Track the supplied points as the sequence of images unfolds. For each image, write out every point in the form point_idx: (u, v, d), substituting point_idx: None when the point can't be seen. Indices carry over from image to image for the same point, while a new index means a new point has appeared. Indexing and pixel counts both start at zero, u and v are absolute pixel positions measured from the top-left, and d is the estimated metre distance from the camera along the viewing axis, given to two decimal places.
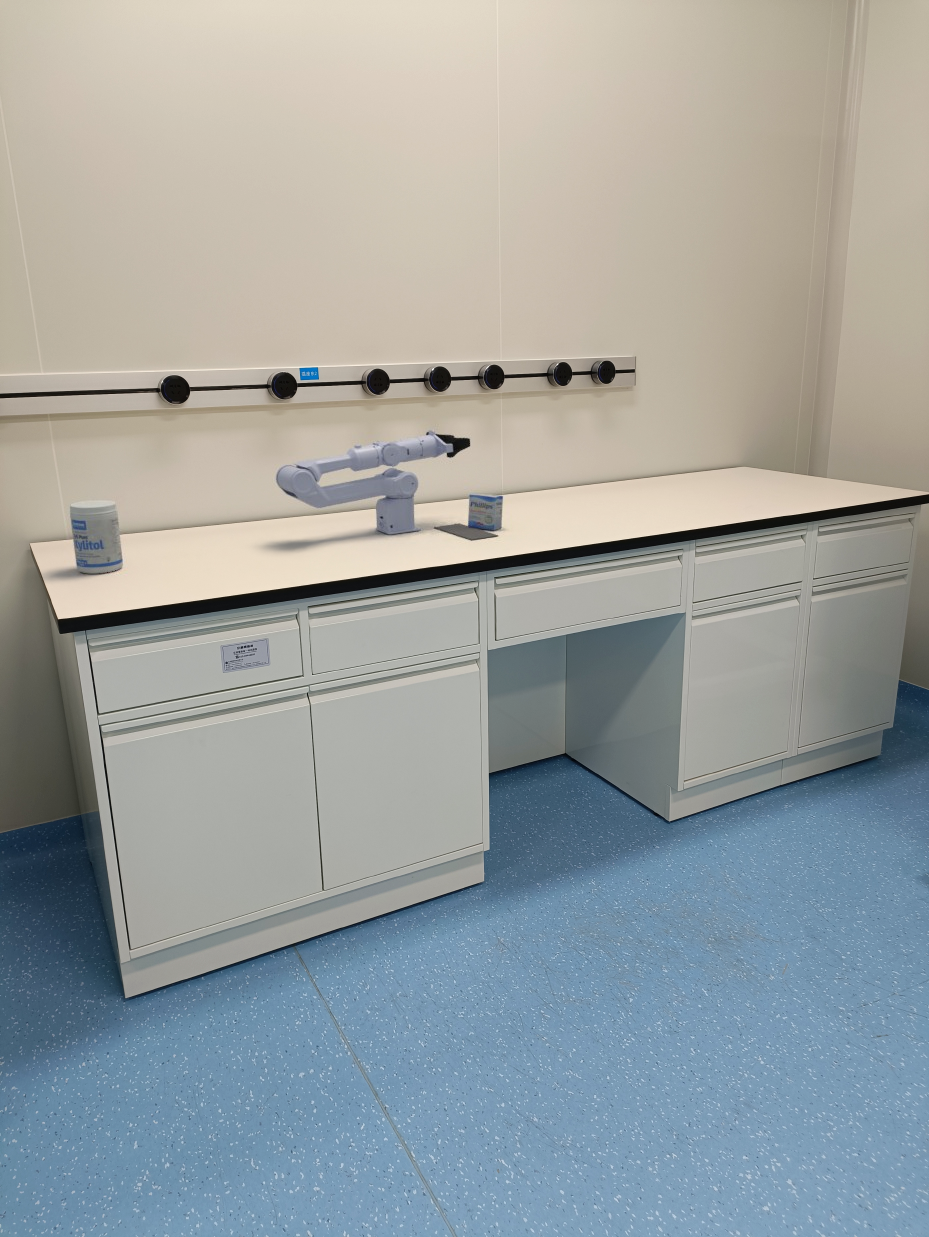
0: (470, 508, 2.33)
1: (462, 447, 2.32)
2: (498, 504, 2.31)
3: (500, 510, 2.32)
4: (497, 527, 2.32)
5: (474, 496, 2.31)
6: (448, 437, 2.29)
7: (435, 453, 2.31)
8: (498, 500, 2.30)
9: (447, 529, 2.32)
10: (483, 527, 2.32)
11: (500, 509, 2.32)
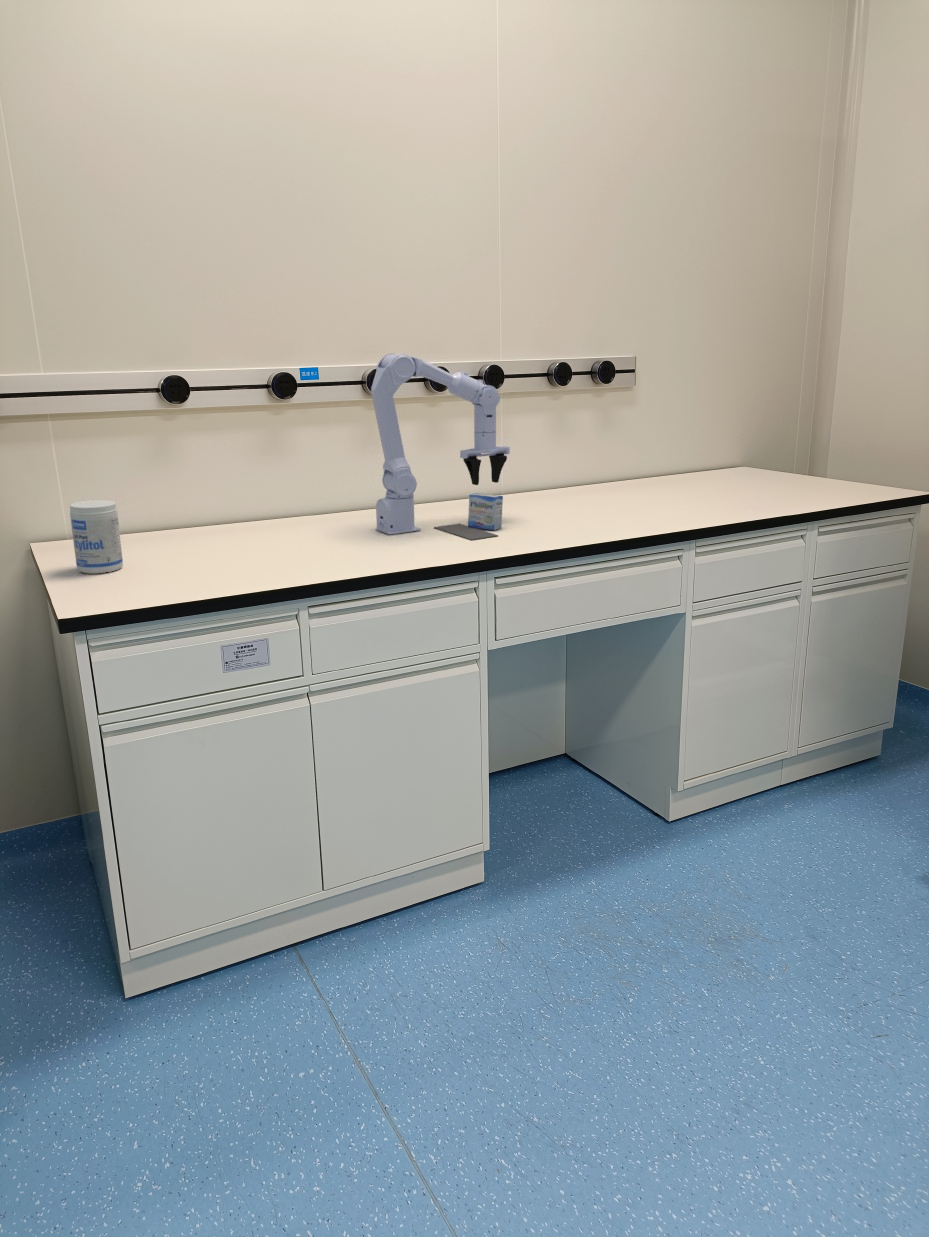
0: (470, 508, 2.33)
1: (471, 474, 2.37)
2: (498, 504, 2.31)
3: (500, 510, 2.32)
4: (497, 527, 2.32)
5: (474, 496, 2.31)
6: (476, 459, 2.33)
7: (474, 447, 2.37)
8: (498, 500, 2.30)
9: (447, 529, 2.32)
10: (483, 527, 2.32)
11: (500, 509, 2.32)
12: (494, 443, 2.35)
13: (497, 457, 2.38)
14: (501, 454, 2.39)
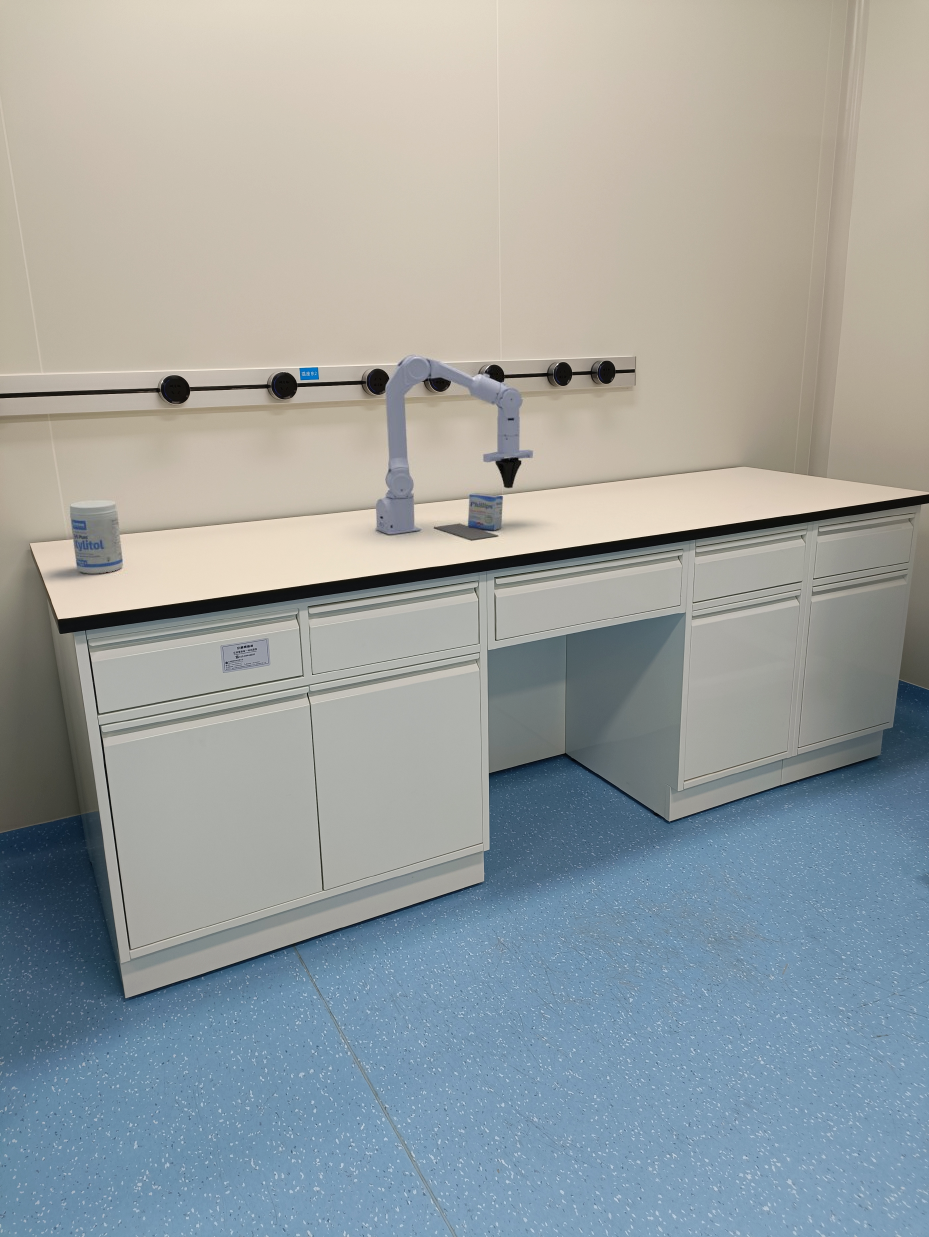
0: (470, 508, 2.33)
1: (503, 477, 2.35)
2: (498, 504, 2.31)
3: (500, 510, 2.32)
4: (497, 527, 2.32)
5: (474, 496, 2.31)
6: (509, 462, 2.31)
7: (497, 450, 2.33)
8: (498, 500, 2.30)
9: (447, 529, 2.32)
10: (483, 527, 2.32)
11: (500, 509, 2.32)
12: (518, 447, 2.31)
13: (511, 462, 2.32)
14: None
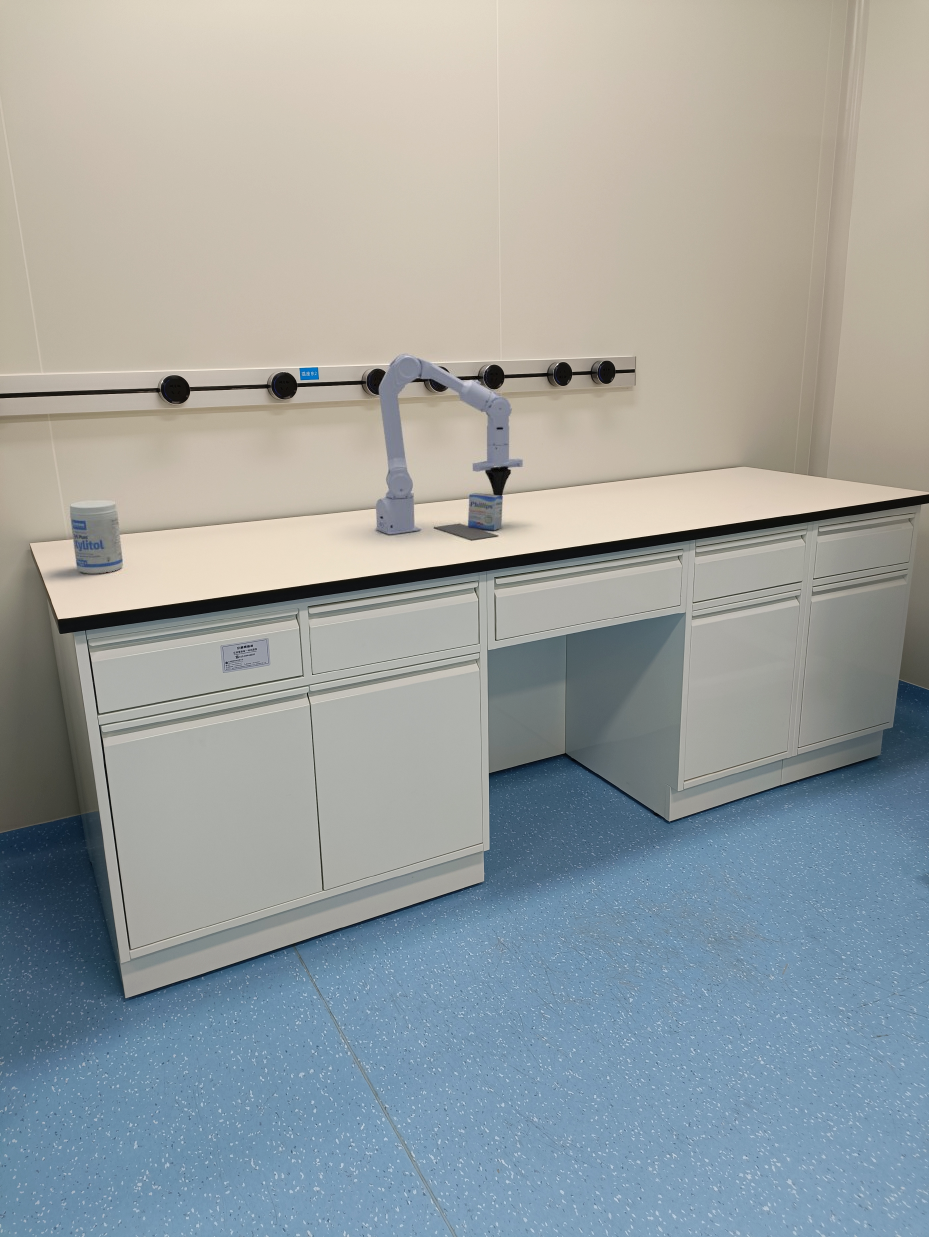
0: (470, 508, 2.33)
1: (493, 486, 2.34)
2: (498, 504, 2.31)
3: (500, 510, 2.32)
4: (497, 527, 2.32)
5: (474, 496, 2.31)
6: (499, 471, 2.30)
7: (487, 459, 2.31)
8: (498, 500, 2.30)
9: (447, 529, 2.32)
10: (483, 527, 2.32)
11: (500, 509, 2.32)
12: (507, 456, 2.30)
13: (501, 471, 2.31)
14: None
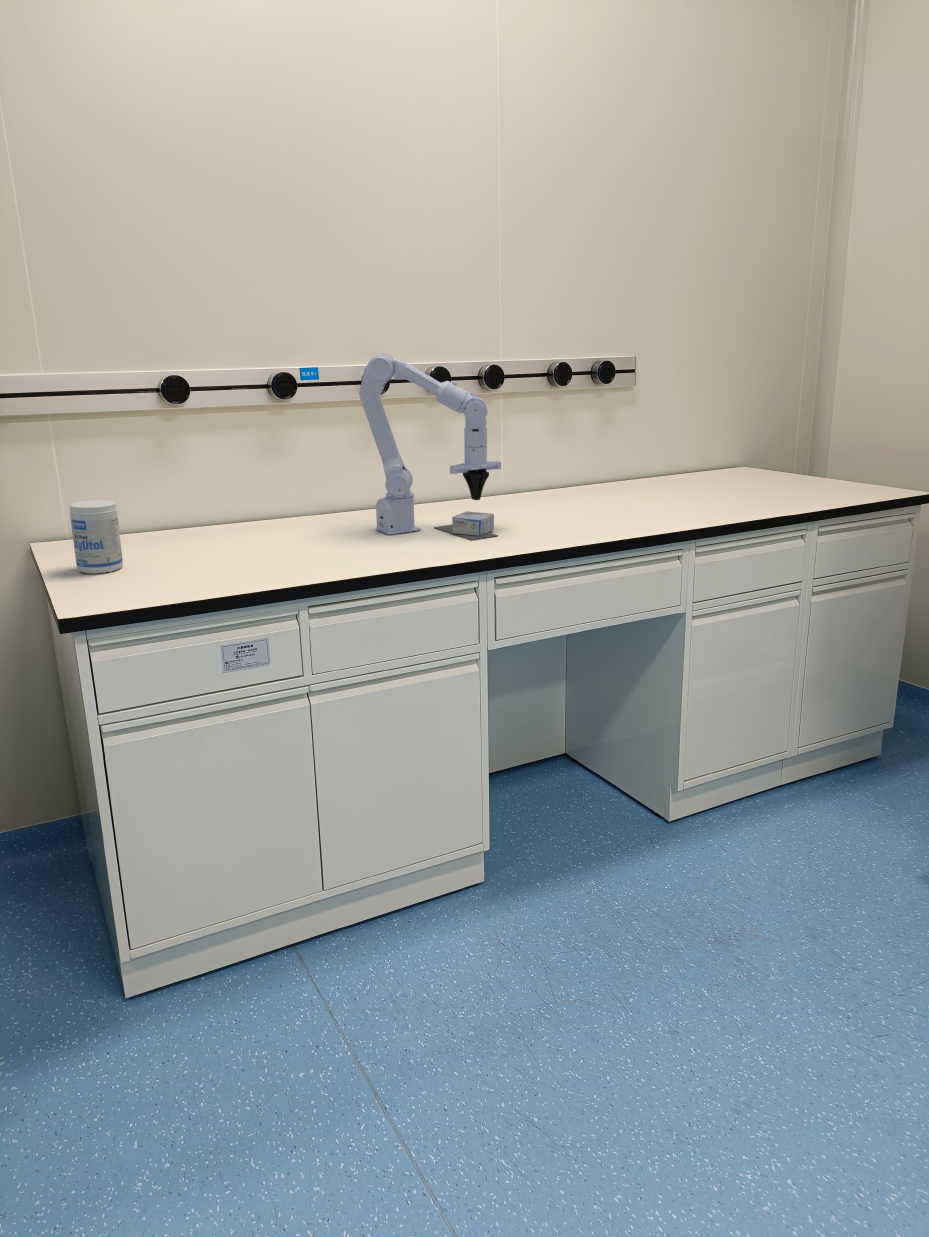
0: None
1: (471, 489, 2.30)
2: (483, 527, 2.25)
3: (486, 521, 2.26)
4: (493, 523, 2.30)
5: (458, 533, 2.27)
6: (476, 474, 2.26)
7: None
8: (481, 530, 2.24)
9: (447, 529, 2.32)
10: None
11: (485, 522, 2.26)
12: (485, 458, 2.26)
13: (479, 473, 2.28)
14: (492, 469, 2.30)
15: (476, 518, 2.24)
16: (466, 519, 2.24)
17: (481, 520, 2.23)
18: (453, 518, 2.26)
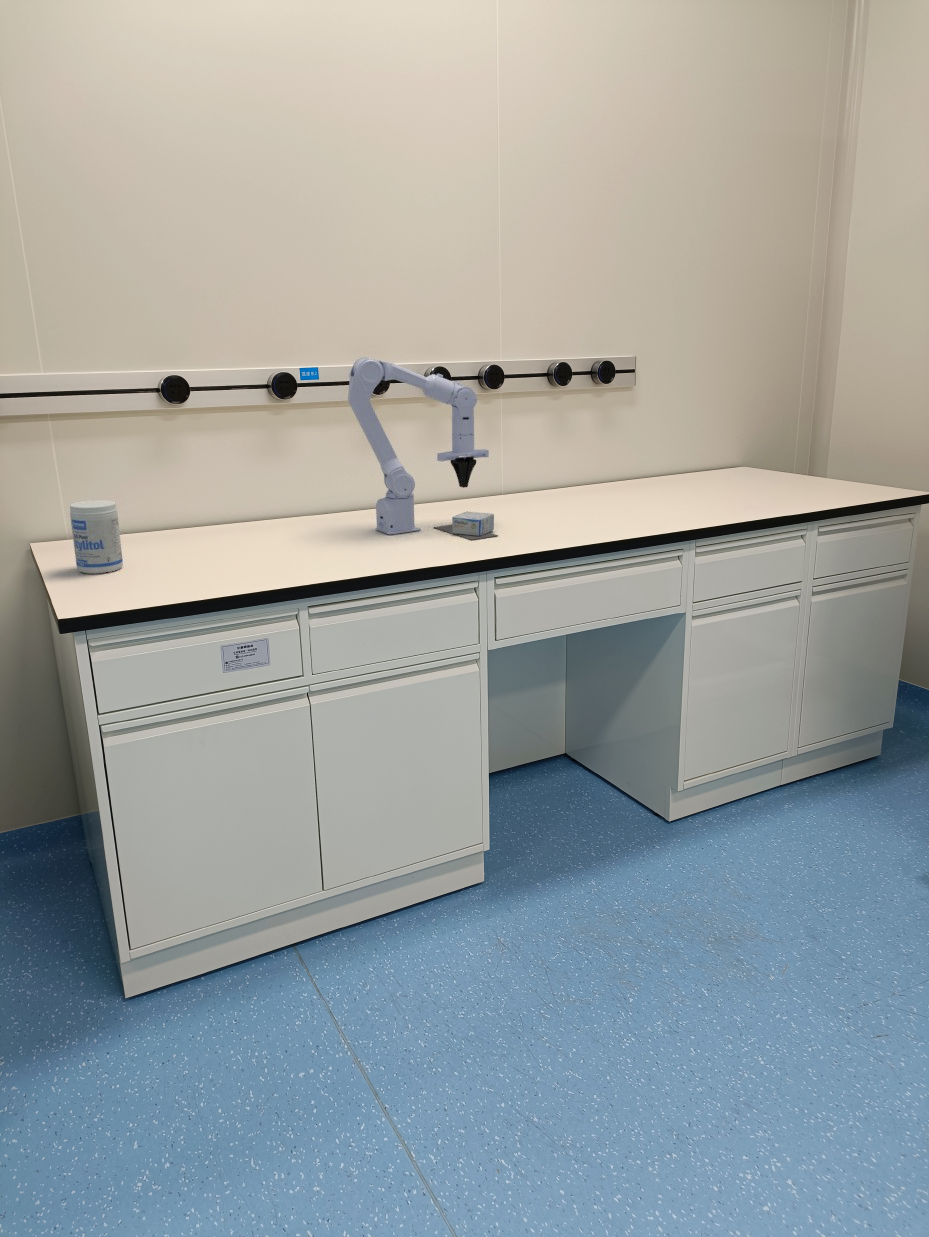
0: None
1: (458, 476, 2.34)
2: (483, 527, 2.25)
3: (486, 521, 2.26)
4: (493, 523, 2.30)
5: (458, 533, 2.27)
6: (463, 461, 2.30)
7: (452, 449, 2.32)
8: (481, 530, 2.24)
9: (447, 529, 2.32)
10: None
11: (485, 522, 2.26)
12: (472, 446, 2.30)
13: (466, 461, 2.32)
14: None
15: (476, 518, 2.24)
16: (466, 519, 2.24)
17: (481, 520, 2.23)
18: (453, 518, 2.26)
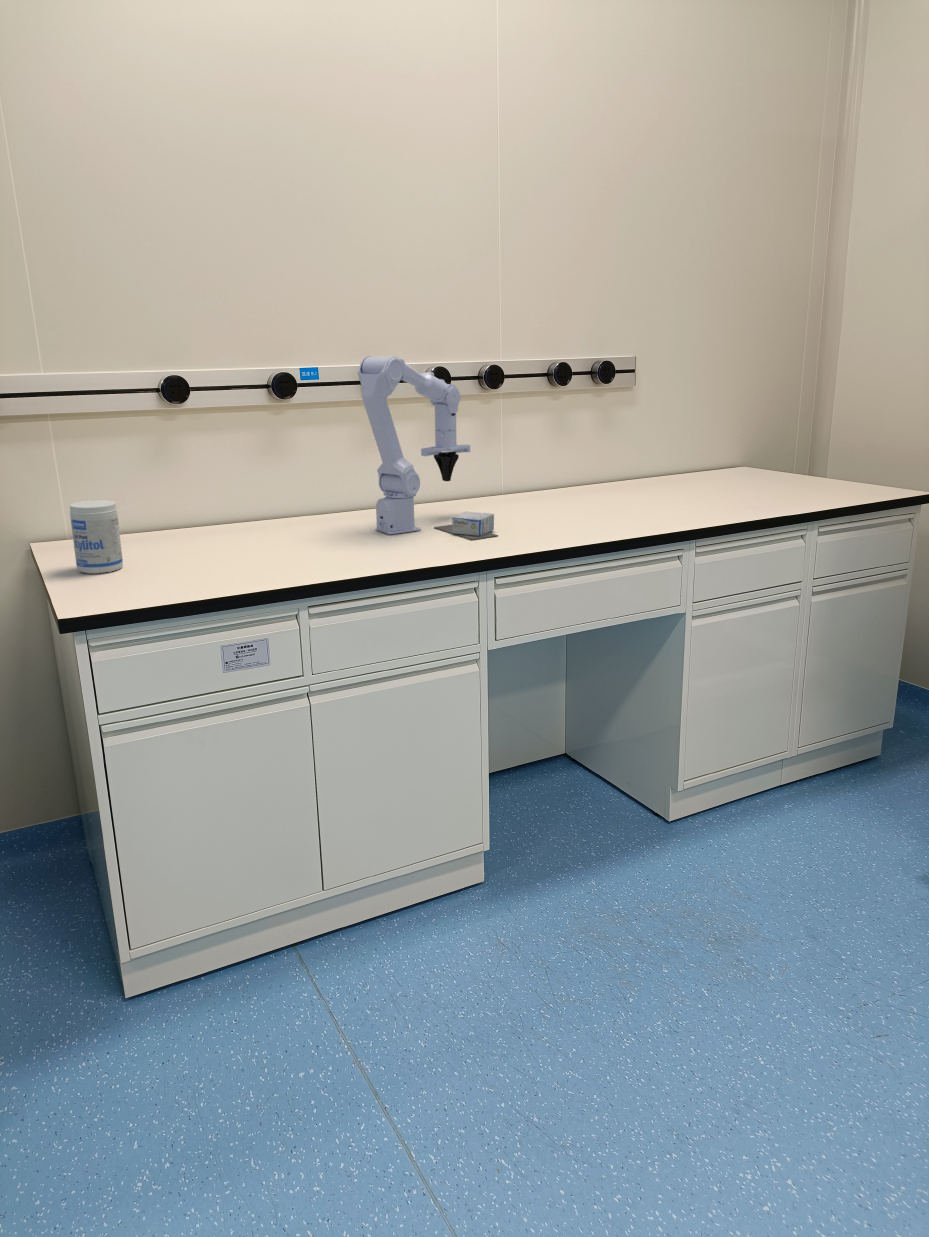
0: None
1: (441, 471, 2.44)
2: (483, 527, 2.25)
3: (486, 521, 2.26)
4: (493, 523, 2.30)
5: (458, 533, 2.27)
6: (446, 456, 2.40)
7: (435, 445, 2.42)
8: (481, 530, 2.24)
9: (447, 529, 2.32)
10: None
11: (485, 522, 2.26)
12: (454, 441, 2.40)
13: (449, 456, 2.41)
14: None
15: (476, 518, 2.24)
16: (466, 519, 2.24)
17: (481, 520, 2.23)
18: (453, 518, 2.26)
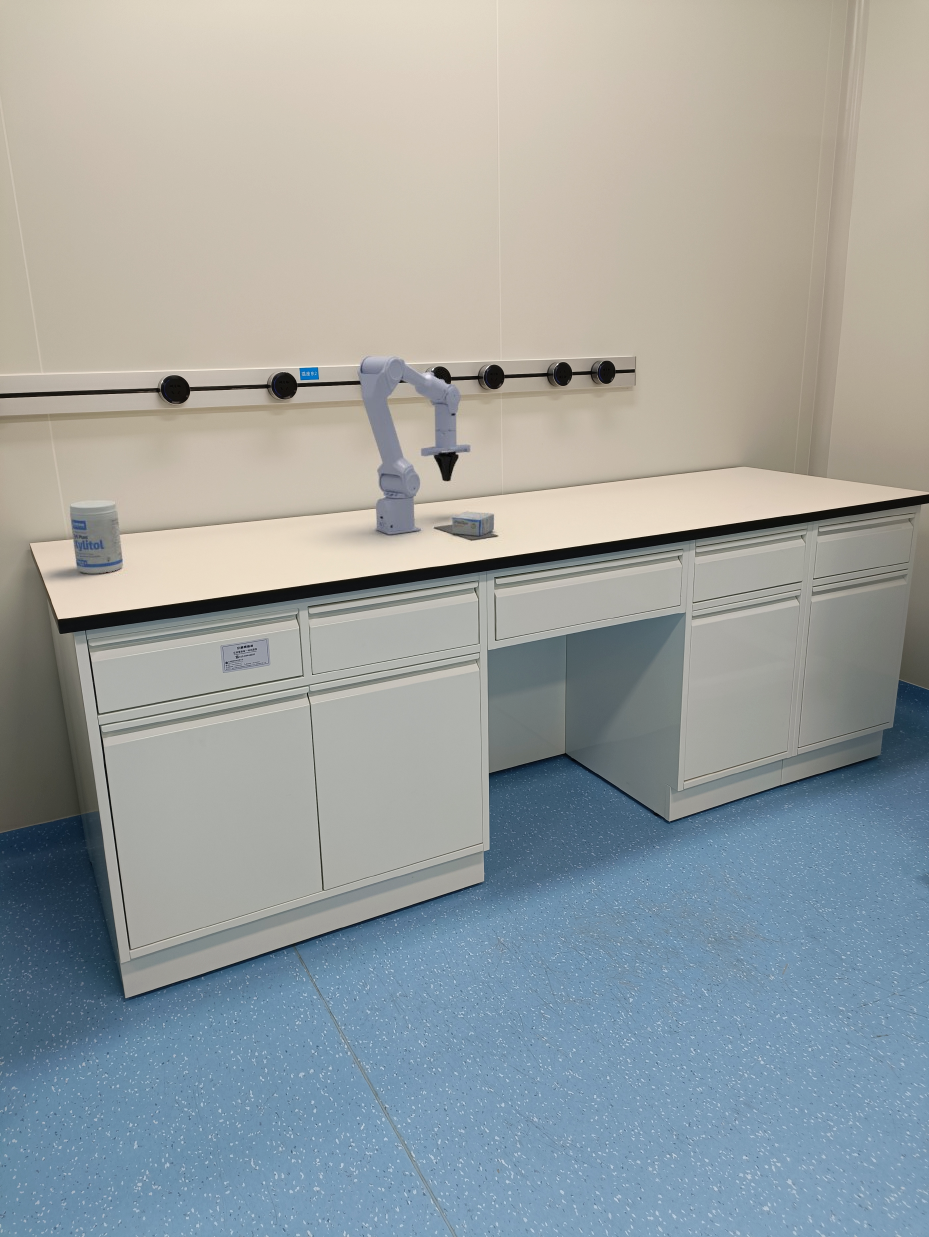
0: None
1: (441, 471, 2.44)
2: (483, 527, 2.25)
3: (486, 521, 2.26)
4: (493, 523, 2.30)
5: (458, 533, 2.27)
6: (446, 456, 2.40)
7: (435, 445, 2.42)
8: (481, 530, 2.24)
9: (447, 529, 2.32)
10: None
11: (485, 522, 2.26)
12: (454, 441, 2.40)
13: (449, 456, 2.41)
14: None
15: (476, 518, 2.24)
16: (466, 519, 2.24)
17: (481, 520, 2.23)
18: (453, 518, 2.26)
